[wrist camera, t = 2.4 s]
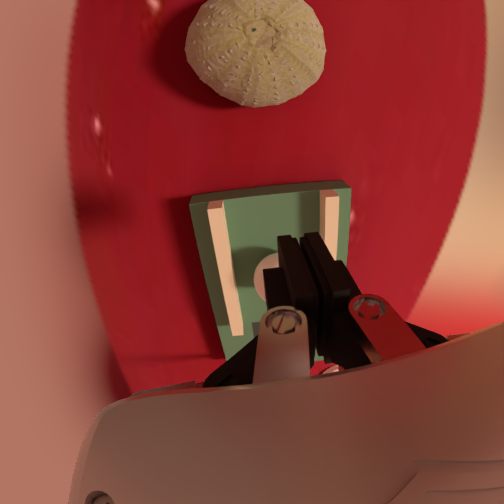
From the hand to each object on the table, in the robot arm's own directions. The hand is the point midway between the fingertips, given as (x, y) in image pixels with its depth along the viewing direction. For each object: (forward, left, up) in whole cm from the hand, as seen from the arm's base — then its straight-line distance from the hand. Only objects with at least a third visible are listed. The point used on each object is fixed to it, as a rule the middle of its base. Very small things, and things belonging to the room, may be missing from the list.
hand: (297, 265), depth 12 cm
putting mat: (+10, 0, -11) cm, 15 cm away
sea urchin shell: (-11, 0, -12) cm, 16 cm away
